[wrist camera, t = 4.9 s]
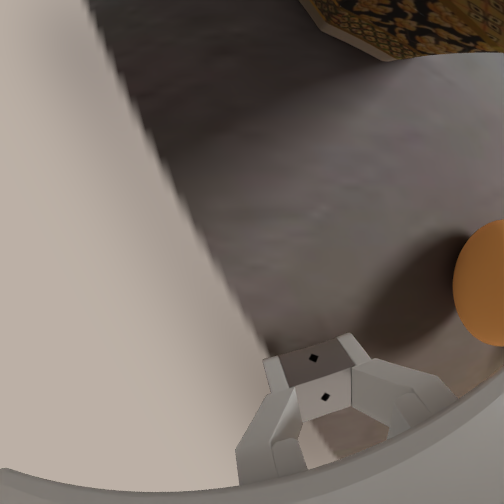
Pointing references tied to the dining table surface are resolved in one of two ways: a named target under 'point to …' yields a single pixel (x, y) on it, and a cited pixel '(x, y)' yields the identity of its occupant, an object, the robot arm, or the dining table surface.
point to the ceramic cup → (412, 25)
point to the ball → (482, 284)
